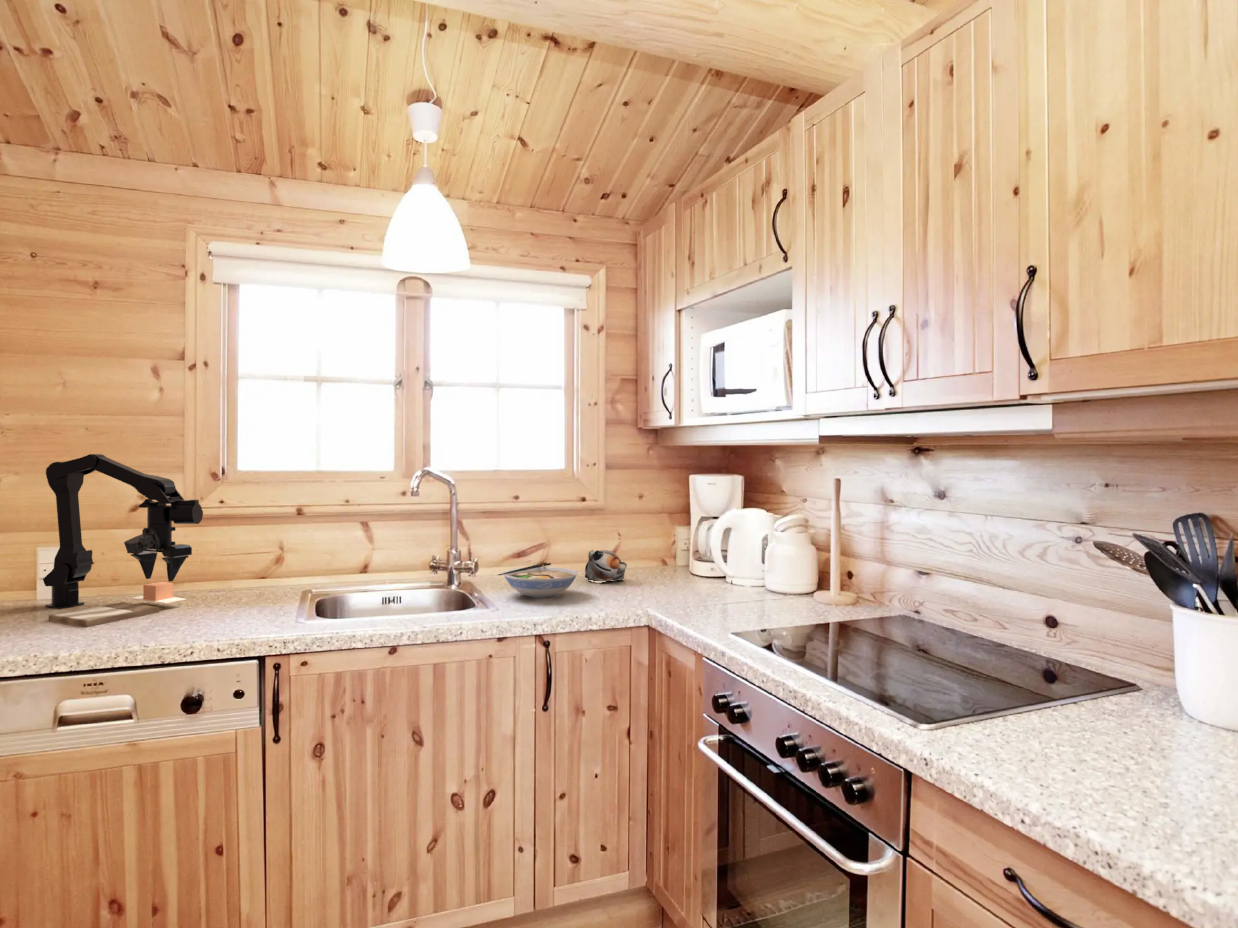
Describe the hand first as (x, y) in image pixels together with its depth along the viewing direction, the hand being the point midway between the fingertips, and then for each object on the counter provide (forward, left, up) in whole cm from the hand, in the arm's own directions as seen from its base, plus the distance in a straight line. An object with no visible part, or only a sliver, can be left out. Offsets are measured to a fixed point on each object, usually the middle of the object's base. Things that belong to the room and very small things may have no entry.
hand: (159, 579), depth 196 cm
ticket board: (0, -14, -7) cm, 16 cm away
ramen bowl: (+88, +59, -7) cm, 106 cm away
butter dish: (0, 0, -5) cm, 5 cm away
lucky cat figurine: (+96, +91, -8) cm, 133 cm away
